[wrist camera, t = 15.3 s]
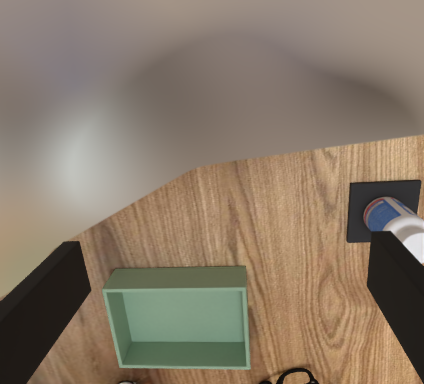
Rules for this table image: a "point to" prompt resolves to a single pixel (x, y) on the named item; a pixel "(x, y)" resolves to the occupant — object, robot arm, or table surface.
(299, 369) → the glasses
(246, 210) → the table surface
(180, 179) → the table surface
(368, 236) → the mat
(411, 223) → the pill bottle
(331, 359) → the table surface
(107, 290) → the tote
